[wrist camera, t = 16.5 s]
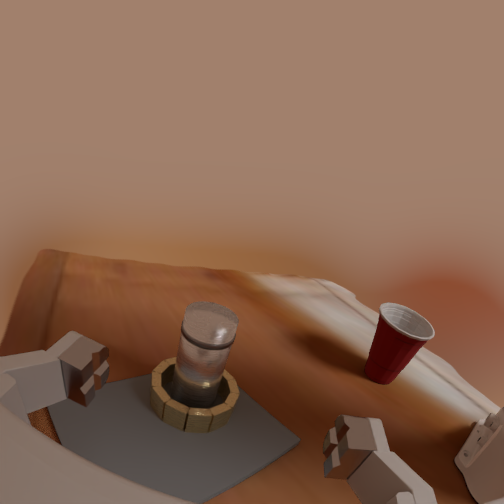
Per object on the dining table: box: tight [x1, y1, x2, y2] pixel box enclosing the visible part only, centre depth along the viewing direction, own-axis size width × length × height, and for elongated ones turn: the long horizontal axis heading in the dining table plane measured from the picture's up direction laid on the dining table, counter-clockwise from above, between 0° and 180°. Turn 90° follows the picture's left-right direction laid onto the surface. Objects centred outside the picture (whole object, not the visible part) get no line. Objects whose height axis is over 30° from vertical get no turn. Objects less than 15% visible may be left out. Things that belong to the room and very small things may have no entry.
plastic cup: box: [365, 303, 435, 384], centre depth 46 cm, size 11×11×12 cm
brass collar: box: [150, 357, 240, 433], centre depth 31 cm, size 10×10×3 cm
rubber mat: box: [47, 373, 301, 504], centre depth 27 cm, size 23×17×1 cm
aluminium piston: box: [170, 302, 238, 409], centre depth 30 cm, size 5×5×12 cm
